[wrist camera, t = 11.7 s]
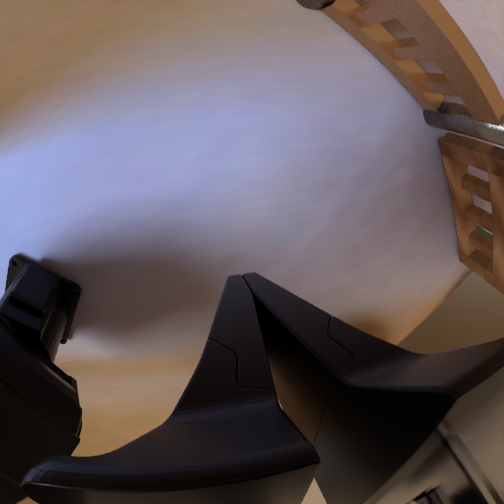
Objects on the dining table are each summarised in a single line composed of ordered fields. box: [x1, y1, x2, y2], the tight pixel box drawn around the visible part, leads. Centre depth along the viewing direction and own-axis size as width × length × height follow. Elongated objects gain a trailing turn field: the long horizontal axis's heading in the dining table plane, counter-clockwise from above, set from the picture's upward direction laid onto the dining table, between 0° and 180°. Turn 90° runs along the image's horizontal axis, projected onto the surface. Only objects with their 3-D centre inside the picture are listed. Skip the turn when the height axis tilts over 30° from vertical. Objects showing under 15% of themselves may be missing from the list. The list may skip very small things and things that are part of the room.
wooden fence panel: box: [297, 0, 504, 146], centre depth 14 cm, size 2×17×9 cm, turn 58°
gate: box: [438, 133, 504, 295], centre depth 22 cm, size 15×2×8 cm, turn 32°
